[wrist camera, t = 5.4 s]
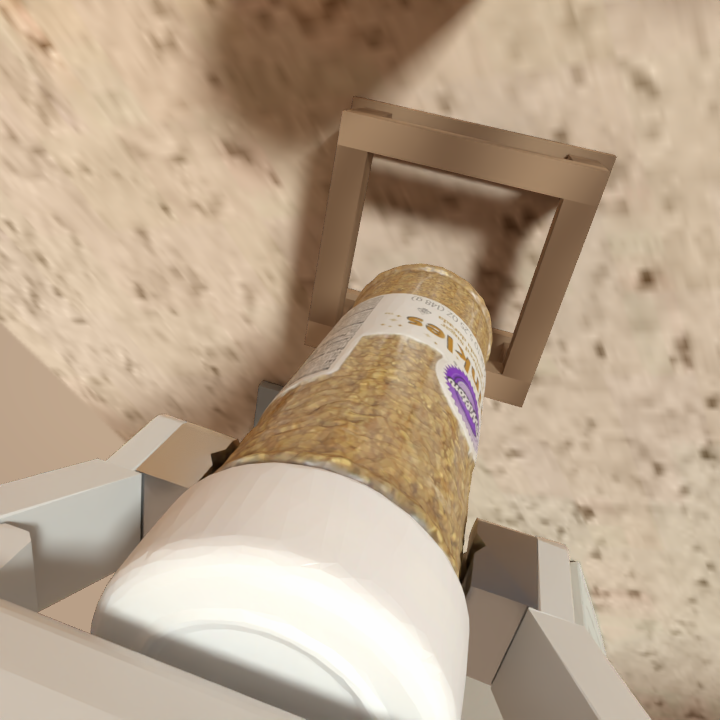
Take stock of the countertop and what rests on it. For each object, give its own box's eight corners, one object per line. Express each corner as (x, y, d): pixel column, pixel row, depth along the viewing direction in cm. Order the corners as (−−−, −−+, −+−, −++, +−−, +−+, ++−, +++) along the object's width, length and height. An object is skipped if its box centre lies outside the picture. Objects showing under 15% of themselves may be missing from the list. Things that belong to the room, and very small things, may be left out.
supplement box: (451, 569, 35) (419, 795, 24) (581, 557, 32) (613, 804, 21) (484, 659, 37) (469, 901, 26) (608, 654, 35) (648, 921, 24)
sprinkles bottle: (522, 343, 18) (551, 808, 6) (409, 418, 20) (256, 886, 8) (429, 227, 17) (246, 484, 5) (321, 316, 19) (4, 655, 7)
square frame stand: (614, 155, 24) (631, 167, 20) (531, 374, 29) (533, 417, 25) (356, 96, 25) (328, 98, 22) (319, 314, 30) (290, 346, 26)
